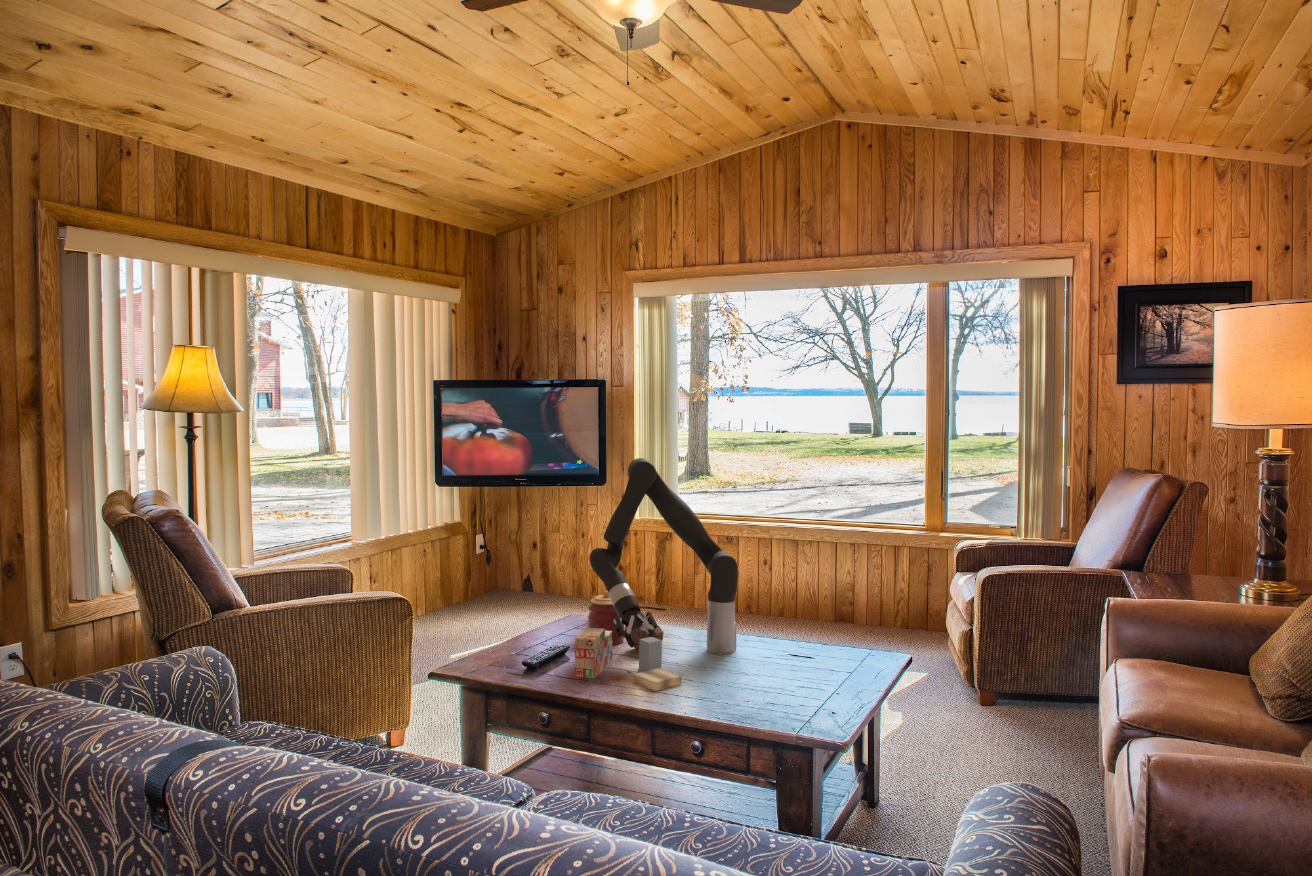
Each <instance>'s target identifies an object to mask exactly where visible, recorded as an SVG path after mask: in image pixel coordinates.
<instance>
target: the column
mask: <svg viewBox="0 0 1312 876" xmlns="http://www.w3.org/2000/svg"><path fill="white" fill-rule="evenodd" d="M662 650H663V640H659V639H657V638H654V637H649V638H643V639H639V651H638V673H639V672H644V671H648V670H652V669H657V668H662V664H663V663H662V662H663V661H662V659H663V658H662V657H663V651H662Z"/></svg>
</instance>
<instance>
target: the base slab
mask: <svg viewBox="0 0 1312 876" xmlns="http://www.w3.org/2000/svg"><path fill="white" fill-rule="evenodd" d="M633 683H635V684H636V685H639V686H641V685H642V686H641V687H644V688H646V687H647V688H646V689H648V688H649V690H651V689H652V690H651V691H653V692H657V690H658V691H660V690H659V689H662V690H665V689H664V688H666V689H668V688H667V687H670V688H673V687H677V686H676V685H678V686H681V685H682V675H680V674H677V673H675V672H671V671H669V670H668V669H667V670H666V669H665V668H662V667H661V668H657V669H652V670H648V671H644V672H639V671H638V672H636V673H633ZM672 686H673V687H672Z"/></svg>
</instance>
